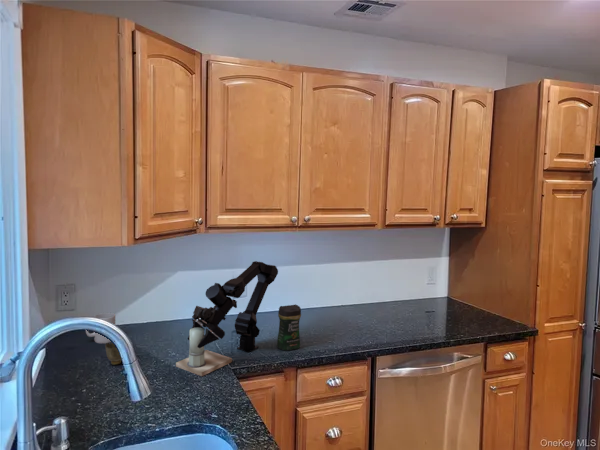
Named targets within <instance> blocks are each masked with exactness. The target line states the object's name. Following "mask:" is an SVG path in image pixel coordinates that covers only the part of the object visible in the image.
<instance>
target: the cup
mask: <svg viewBox="0 0 600 450" xmlns="http://www.w3.org/2000/svg"><path fill="white" fill-rule="evenodd" d="M104 346H105V347H104V348H105V353H106V357H107V359H108V360H109V361H110V364H111V365H112V366H118V365H120V364H121V363H122V359H121V357H120V355H119V352H118V350H117V348H116V347H115V345H114V344H113V343H112V342H108V343H105V344H104Z"/></svg>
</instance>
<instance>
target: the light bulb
mask: <svg viewBox="0 0 600 450" xmlns="http://www.w3.org/2000/svg"><path fill="white" fill-rule="evenodd" d="M203 328H204V327H203ZM203 328H192V327H191V328H190V329H189V333H188V334H189V335H188V337H189V340H188V341H189V351H188V357H189V365H191V366H201V365H203V364H204V353H205V350H206V349H205V346H203V347H201V348H198V347H197V346H198V344H199V343H200V341H201V340H202V338H203V337H204V335H205V330H204V329H205V328H204V329H203Z"/></svg>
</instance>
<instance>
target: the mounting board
mask: <svg viewBox="0 0 600 450" xmlns="http://www.w3.org/2000/svg"><path fill="white" fill-rule="evenodd" d="M204 350H205V353H204V364H203V365H201V366H191V365H189V356H188V357H186V358H184V359H182V360H179V361H177V362H175V367H176V368H179V369H182V370H184V371H187V372H190V373H192V374H194V375H197V376H200V377H204V376H205V375H208V374H210V373H212V372H214V371H216V370H218V369H221V368H222V367H224V366H226V365H228V364H231V363H232V362H233V358H232V357H230V356H226V355H224V354H220V353H218V352H214V351H211V350H208V349H204Z"/></svg>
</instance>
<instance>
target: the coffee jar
mask: <svg viewBox="0 0 600 450" xmlns="http://www.w3.org/2000/svg"><path fill="white" fill-rule="evenodd" d="M301 311H302V310H301V307H300V305H297V304H290V305H289V304H288V305H281V306H279V308H278V311H277V314H278V318H279V327H278V332H277V333H278V334H277V340H276V341H277V342H276V346H277V347H278V349H279V350H282V351H292V350H297V349H299V348H300V346H301V336H300V321H301V316H302V312H301Z"/></svg>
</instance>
